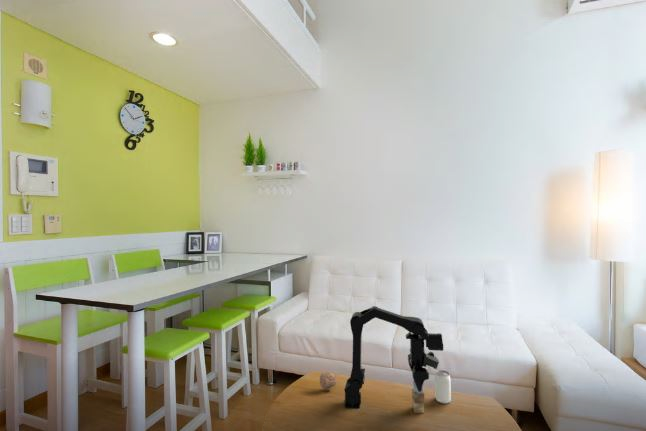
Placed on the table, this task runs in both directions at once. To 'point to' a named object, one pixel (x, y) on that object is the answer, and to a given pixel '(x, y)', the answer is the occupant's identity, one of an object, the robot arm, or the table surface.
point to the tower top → (418, 397)
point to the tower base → (418, 407)
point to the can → (442, 387)
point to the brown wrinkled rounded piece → (327, 380)
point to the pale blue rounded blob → (416, 388)
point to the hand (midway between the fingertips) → (418, 385)
